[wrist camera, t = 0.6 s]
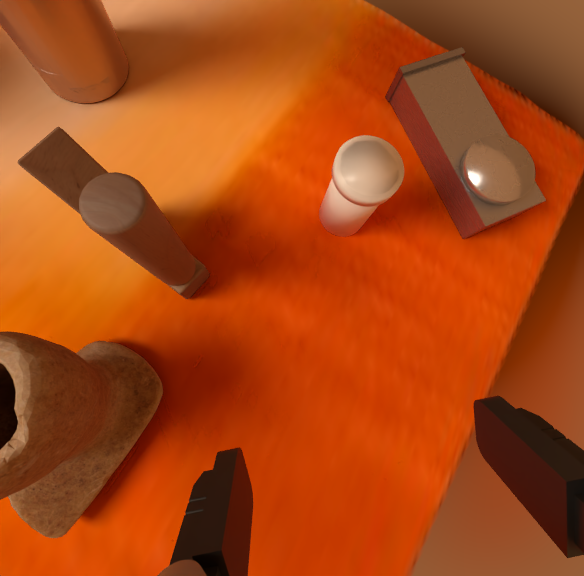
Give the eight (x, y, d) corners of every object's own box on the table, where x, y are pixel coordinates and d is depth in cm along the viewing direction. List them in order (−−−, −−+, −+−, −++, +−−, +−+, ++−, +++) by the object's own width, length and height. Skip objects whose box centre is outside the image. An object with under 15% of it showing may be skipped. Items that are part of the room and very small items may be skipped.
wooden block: (134, 211, 36) (16, 78, 19) (211, 274, 36) (165, 198, 18) (109, 236, 35) (-39, 122, 18) (188, 301, 35) (114, 249, 17)
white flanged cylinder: (307, 200, 38) (323, 148, 28) (353, 183, 39) (384, 126, 29) (329, 247, 37) (353, 210, 28) (376, 228, 38) (416, 186, 29)
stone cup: (89, 314, 34) (-42, 284, 19) (184, 385, 33) (124, 410, 19) (-29, 448, 31) (-294, 535, 16) (74, 528, 30) (-101, 694, 16)
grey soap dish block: (385, 96, 42) (402, 61, 37) (442, 77, 43) (466, 40, 38) (461, 239, 39) (491, 222, 34) (519, 214, 40) (557, 194, 35)
